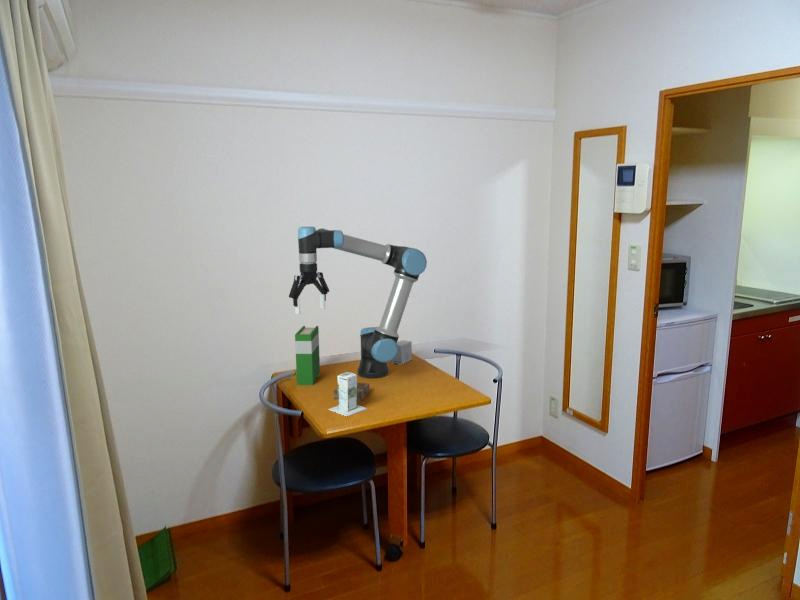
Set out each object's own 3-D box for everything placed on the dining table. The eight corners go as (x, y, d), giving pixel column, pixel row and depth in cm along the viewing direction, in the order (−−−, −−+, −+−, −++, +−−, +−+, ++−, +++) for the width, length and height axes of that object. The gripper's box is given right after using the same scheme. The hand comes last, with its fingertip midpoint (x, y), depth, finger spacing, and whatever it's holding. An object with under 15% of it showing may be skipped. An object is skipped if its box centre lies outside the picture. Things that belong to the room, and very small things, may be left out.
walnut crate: (343, 390, 257) (343, 381, 256) (369, 392, 254) (368, 383, 253) (334, 399, 245) (334, 390, 244) (360, 401, 242) (360, 392, 242)
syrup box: (347, 404, 238) (346, 371, 235) (357, 407, 234) (357, 373, 231) (337, 408, 233) (336, 374, 231) (348, 412, 230) (347, 377, 227)
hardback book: (305, 373, 282) (303, 325, 277) (320, 373, 281) (318, 325, 277) (297, 385, 264) (294, 334, 260) (312, 385, 264) (311, 334, 259)
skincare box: (401, 358, 305) (401, 339, 304) (412, 360, 302) (412, 341, 300) (391, 363, 297) (390, 344, 295) (401, 365, 293) (401, 345, 292)
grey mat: (349, 402, 241) (349, 401, 241) (366, 409, 234) (366, 408, 234) (328, 409, 233) (328, 408, 233) (346, 416, 226) (346, 415, 226)
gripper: (325, 259, 257) (327, 305, 261) (278, 265, 240) (281, 314, 244) (336, 260, 252) (337, 307, 256) (289, 266, 235) (292, 316, 239)
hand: (310, 311), depth 250 cm, fingers open, 13 cm apart
